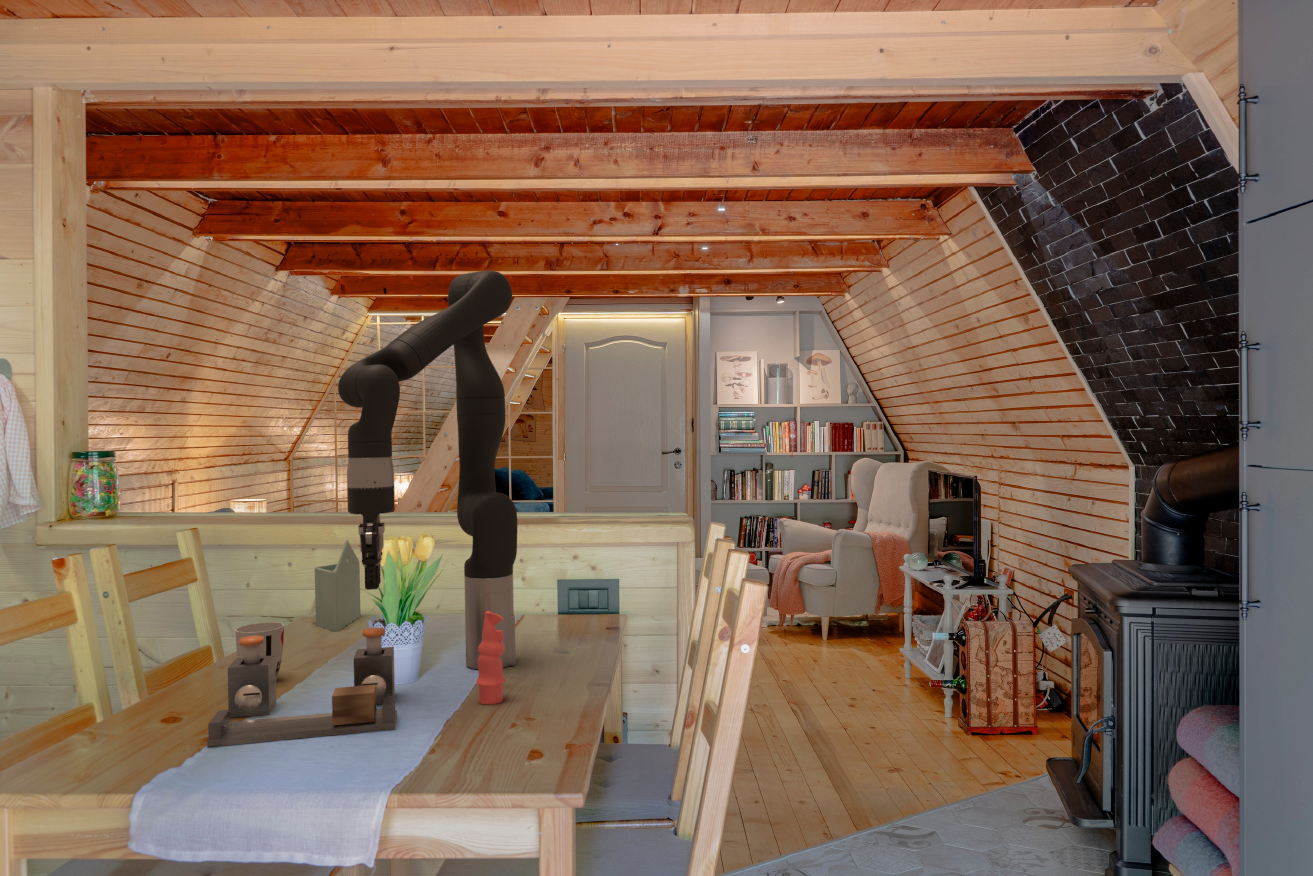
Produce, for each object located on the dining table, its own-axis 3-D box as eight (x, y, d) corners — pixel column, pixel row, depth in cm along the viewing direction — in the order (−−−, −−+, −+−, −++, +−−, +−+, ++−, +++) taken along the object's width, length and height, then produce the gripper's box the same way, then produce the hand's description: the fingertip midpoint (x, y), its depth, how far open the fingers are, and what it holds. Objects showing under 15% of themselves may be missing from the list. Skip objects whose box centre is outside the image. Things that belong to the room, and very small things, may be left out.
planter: (328, 617, 212) (326, 536, 212) (361, 616, 212) (359, 535, 212) (302, 632, 196) (300, 545, 196) (337, 632, 196) (335, 544, 196)
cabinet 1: (276, 703, 145) (275, 655, 145) (268, 715, 139) (267, 665, 139) (237, 706, 144) (236, 658, 144) (228, 718, 138) (226, 668, 138)
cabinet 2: (394, 693, 150) (393, 646, 150) (392, 704, 144) (391, 656, 144) (358, 696, 148) (357, 649, 148) (354, 707, 142) (353, 659, 142)
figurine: (512, 697, 147) (511, 608, 146) (497, 706, 142) (496, 615, 142) (486, 694, 148) (484, 607, 148) (470, 703, 143) (468, 613, 143)
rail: (396, 716, 138) (396, 695, 137) (394, 729, 132) (394, 707, 132) (217, 733, 131) (217, 710, 131) (207, 747, 125) (206, 723, 125)
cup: (266, 689, 153) (265, 633, 153) (226, 687, 155) (224, 631, 154) (294, 676, 161) (293, 622, 161) (255, 674, 163) (254, 621, 162)
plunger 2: (386, 651, 148) (385, 626, 148) (384, 656, 145) (384, 631, 145) (363, 653, 147) (363, 628, 147) (362, 658, 144) (361, 633, 144)
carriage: (376, 712, 136) (376, 684, 136) (374, 721, 132) (373, 692, 132) (335, 716, 135) (335, 687, 134) (332, 725, 130) (331, 696, 130)
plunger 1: (266, 660, 144) (265, 635, 144) (261, 666, 140) (261, 640, 140) (242, 662, 143) (241, 636, 143) (237, 667, 139) (237, 641, 139)
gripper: (391, 486, 140) (393, 593, 140) (396, 481, 153) (398, 578, 154) (342, 487, 138) (344, 596, 138) (351, 482, 152) (353, 581, 152)
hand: (372, 586), depth 146 cm, fingers open, 3 cm apart
